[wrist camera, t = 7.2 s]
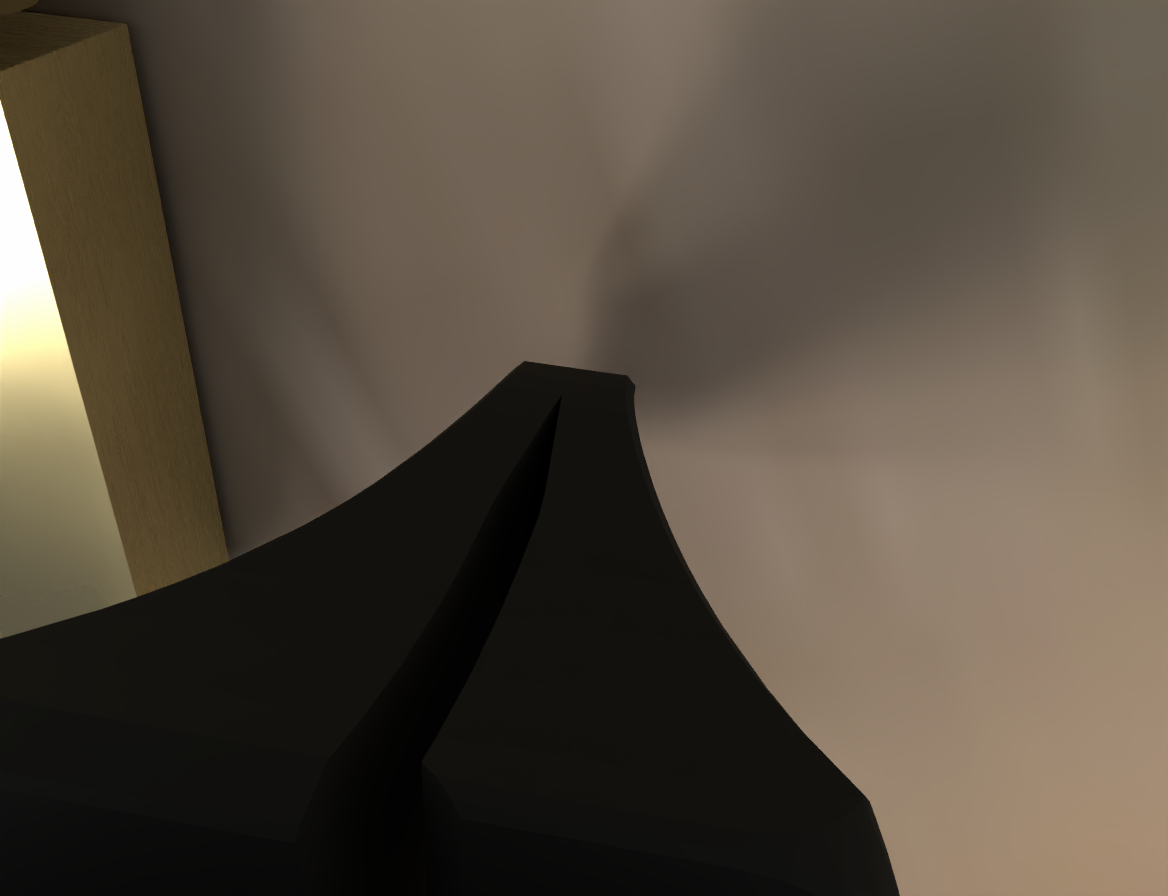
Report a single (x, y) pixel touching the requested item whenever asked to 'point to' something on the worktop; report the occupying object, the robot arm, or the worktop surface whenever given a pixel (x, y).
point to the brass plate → (89, 338)
